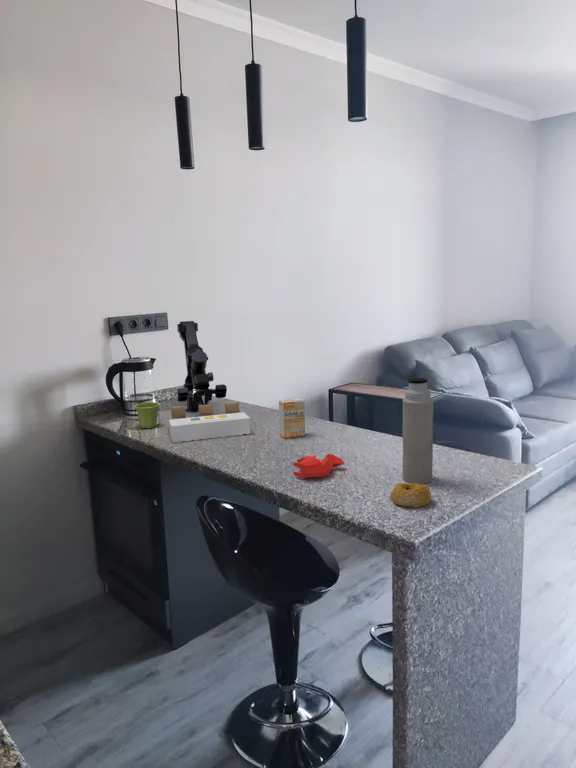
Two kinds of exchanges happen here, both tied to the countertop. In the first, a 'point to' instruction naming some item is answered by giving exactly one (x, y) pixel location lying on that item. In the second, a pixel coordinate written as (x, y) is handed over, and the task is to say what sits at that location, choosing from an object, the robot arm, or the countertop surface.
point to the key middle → (205, 410)
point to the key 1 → (178, 412)
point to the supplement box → (292, 418)
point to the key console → (209, 427)
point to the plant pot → (147, 414)
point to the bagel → (411, 495)
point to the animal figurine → (316, 466)
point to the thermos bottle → (417, 432)
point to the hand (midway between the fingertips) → (205, 411)
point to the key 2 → (232, 408)
